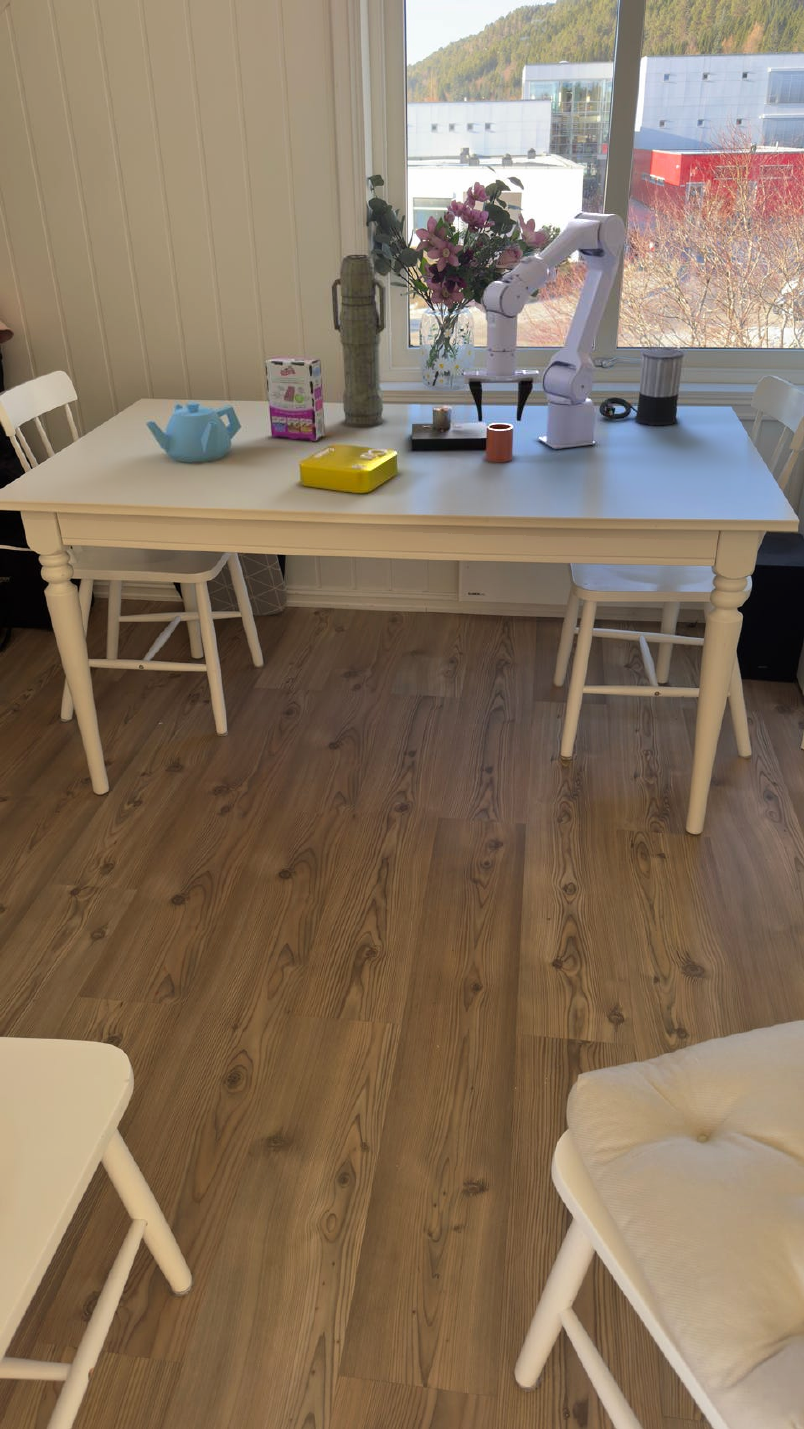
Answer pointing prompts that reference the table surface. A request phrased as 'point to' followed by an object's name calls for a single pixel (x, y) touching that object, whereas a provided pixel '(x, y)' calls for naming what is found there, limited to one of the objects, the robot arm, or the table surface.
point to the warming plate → (449, 437)
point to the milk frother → (653, 389)
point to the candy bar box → (295, 398)
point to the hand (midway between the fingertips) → (499, 420)
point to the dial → (441, 417)
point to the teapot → (197, 433)
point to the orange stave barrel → (499, 442)
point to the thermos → (360, 339)
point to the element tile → (348, 468)
